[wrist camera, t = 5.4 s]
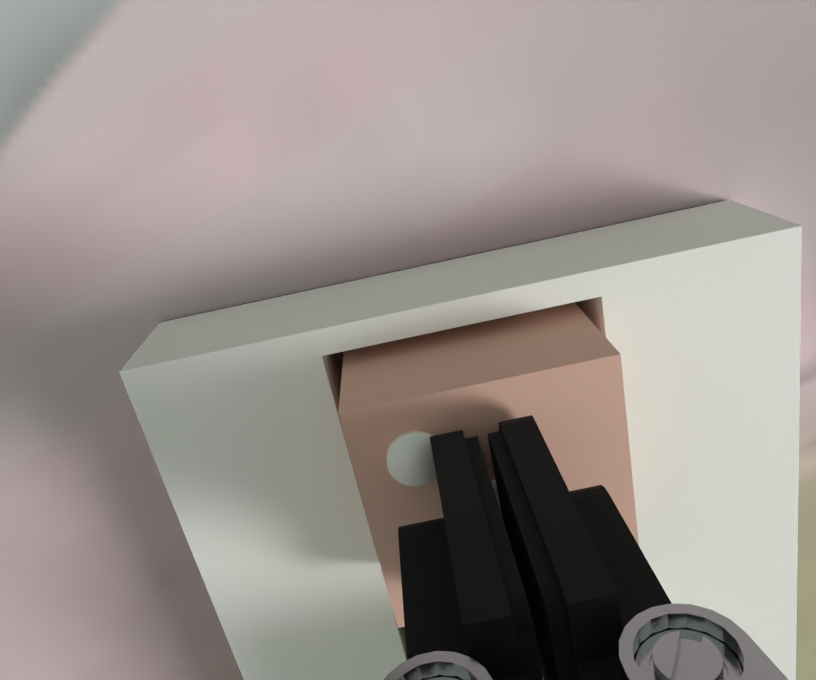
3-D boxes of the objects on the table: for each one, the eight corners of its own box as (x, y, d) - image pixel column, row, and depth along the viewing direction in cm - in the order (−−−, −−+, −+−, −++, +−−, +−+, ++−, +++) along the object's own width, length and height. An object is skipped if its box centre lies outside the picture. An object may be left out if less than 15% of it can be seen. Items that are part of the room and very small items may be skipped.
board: (744, 784, 21) (793, 875, 18) (357, 859, 21) (356, 958, 19) (729, 199, 14) (801, 225, 12) (159, 322, 14) (118, 372, 12)
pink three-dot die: (576, 457, 16) (646, 586, 12) (390, 496, 16) (398, 636, 12) (553, 279, 14) (625, 358, 10) (346, 323, 14) (337, 419, 10)
